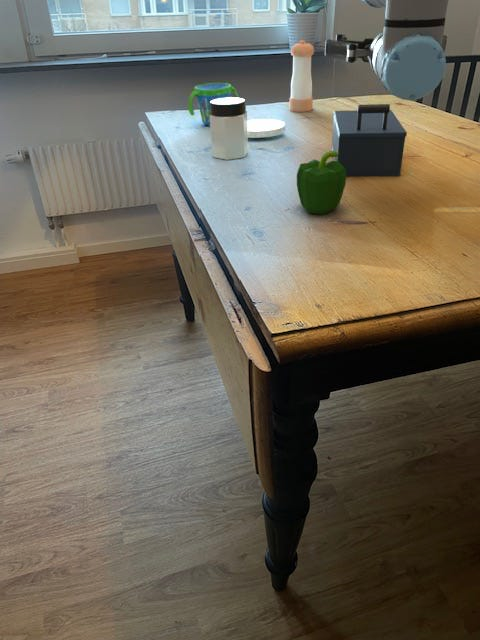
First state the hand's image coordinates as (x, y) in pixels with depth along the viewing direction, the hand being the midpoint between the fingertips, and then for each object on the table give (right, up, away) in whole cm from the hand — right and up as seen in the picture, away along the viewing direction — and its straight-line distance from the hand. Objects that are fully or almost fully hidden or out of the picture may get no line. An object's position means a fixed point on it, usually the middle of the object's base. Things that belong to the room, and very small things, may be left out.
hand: (379, 41), depth 93 cm
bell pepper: (-12, -32, -3) cm, 34 cm away
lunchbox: (+2, -16, +18) cm, 25 cm away
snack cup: (-33, +6, +54) cm, 64 cm away
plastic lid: (-21, -2, +42) cm, 46 cm away
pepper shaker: (-6, +15, +66) cm, 68 cm away
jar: (-28, -12, +27) cm, 41 cm away
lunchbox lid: (+1, -10, +14) cm, 17 cm away
